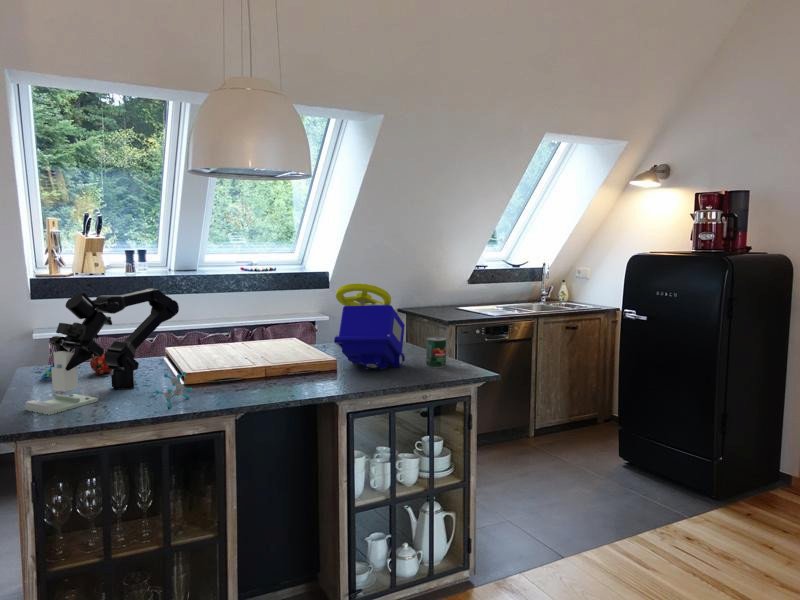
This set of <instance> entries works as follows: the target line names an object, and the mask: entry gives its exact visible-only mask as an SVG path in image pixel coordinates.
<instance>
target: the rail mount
mask: <svg viewBox="0 0 800 600" xmlns="http://www.w3.org/2000/svg"><path fill="white" fill-rule="evenodd" d="M98 401H99V400H98V397H94V396H88V395H83V394H77V393H73V394H72V393H71V394H69V395H64V394H54V398H53V399H50V400H46V401H40V400H34V399H32V400H28V401H25V402H24V403H25V407H24V410H25V411H27V410H28V412H32V411H33V412H32V413H37V412H38V414H42V413H43V415H47V414H48V416H51V415H54V413H55V414H57V412H58V413H61V411H62V412H65V411H68V409H69V410H71V409H75V408H79V407H83V406H85V405H89V404H92V403H95V402H96V403H97V402H98ZM50 414H51V415H50Z"/></svg>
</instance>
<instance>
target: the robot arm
mask: <svg viewBox="0 0 800 600" xmlns="http://www.w3.org/2000/svg"><path fill="white" fill-rule="evenodd" d="M145 302H146V303H147V302H148V304H149V306H150V307H151V309H150V314H149V315H148V316H147V317H146V318H145V319H144V320H143V321H142V322H141V323H140V324H139V325H138V326H137V328H136V329H134V331H132V332H131V333H130V335H128V336H127V337H126V339H124V341H117V340H115V341H114V342H112V344H111V345H110V346H109V347H107V348H106V351H105V349H104V347H103V346H101V345H100V343H98V342H97V341H96V340H98V339H99V338H100V335H99V333H100V331H101V330H102V329H103V327H104V326H105V325H106V326H112V325H113V321H112V317H111V316H107V315H106V314H118V313H119V312H122V311H124V309H125V308H127V307H129V306H134V305H138V304H142V303H145ZM179 307H180V306H179V303H178V302H177V300H174V299H172V298H171V297H169V296H168V295H166V294H164V293H163V292H162V291H160V289H157V288H146V289H143V290H139V291H138V290H137V291H134V292H129V293H124V294H119V295H118V294H114V295H112V294H108V295H107V294H106V295H105V294H104V295H98V296H97V297H96V298H95V299H93V300H92V299H91V298H89V296H88V295H87V294H86V293H85V292H81V291H80V292H78V294H74V296H72V297H70V298H69V299H67V301H66V303H65V308H66V309H67V310H68V311H70V313H72V315H74V316H75V317H76V318H77V319H79V320H82V322H81V323H80V322H73V323H72V324H71V323H65V322H59V323H58V325H57V328H56V331H55V333H56V334H61V335H64V336H65V337H64V336H61V335H54V336H51V338H50V340H49V341H48V343H50V344H51V345H52V346H53V347H55V349H56V352H58V351H66V352H73V350H74V352H73V356H72V358H71V359H70V361H69V363H68V364H67V366H66V368H65V369H66V370H67V371H69V370H71V369H72V368H74V367H76V366H77V367H78V366H79V365H81V364H82V363H85V362H87V361H88V360H90V359H91V360H92V359H93V357H94V356H95V357H101V356H102V355H103V353H105V355H104V356H105V358H104V359H105V362H106V364H107V365H108V368H109V369H110V370H111V369H112V370H113V371H112V373H111V375H110V377H111V387H112V390H113V391H114V390H128V389H129V390H130V389H134V388H135V386H136V382H135V371H137V370H138V369H139V365H140V364H139V362H138V361H137V360H136V359H135V358H136V351H137V349H138V348H139V347H140V346H141V345H142V344H143V343H144V342H145V341H146V340H147V339H148V338H149V337H150V336H151V334H153V333H154V332H155V331H156V329H158V327H159V326H160V325H161V324H162V323H164V322H166V321H168V320H171V319H172V318H174V317H175V316H176V315H178V313H179V310H180V308H179ZM52 365H53V366H52V367H54V362H53V363H52Z"/></svg>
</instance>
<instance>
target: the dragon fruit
mask: <svg viewBox="0 0 800 600" xmlns="http://www.w3.org/2000/svg"><path fill="white" fill-rule="evenodd" d="M105 353H106V352H104V353H103V355H102V356H101V357H95V356H94V355H93V358H92V359H91V360H90V362H89V365H90V367H91V368H90V369H91V370H92V371H94V372H95V374H96V376H99V375H100V376H101V374H102V375H103V374H104V373H106V374H110V373H113V370H112V369H111V370H110V369H109V368H108V365H107V364H106V362H105V359H104V358H105V356H104V355H105Z"/></svg>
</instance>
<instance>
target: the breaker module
mask: <svg viewBox="0 0 800 600" xmlns="http://www.w3.org/2000/svg"><path fill="white" fill-rule="evenodd" d="M73 355H74V351H71V352H66V351H58V352H57V351H54V352H53V363H54V367H51V371H52V372H51V373H52V377H51V385H52V390H53V391H57V392H62V393H63V392H64V393H65V392H69V391H73V390H77V389H79V378H78V377H79V376H78V366H76V367H74V368H72V369H71V370H69V371H67V370H66V369H65V368H66V366H67V364H68V363H69V361H70V359H71V358H72V356H73Z"/></svg>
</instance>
